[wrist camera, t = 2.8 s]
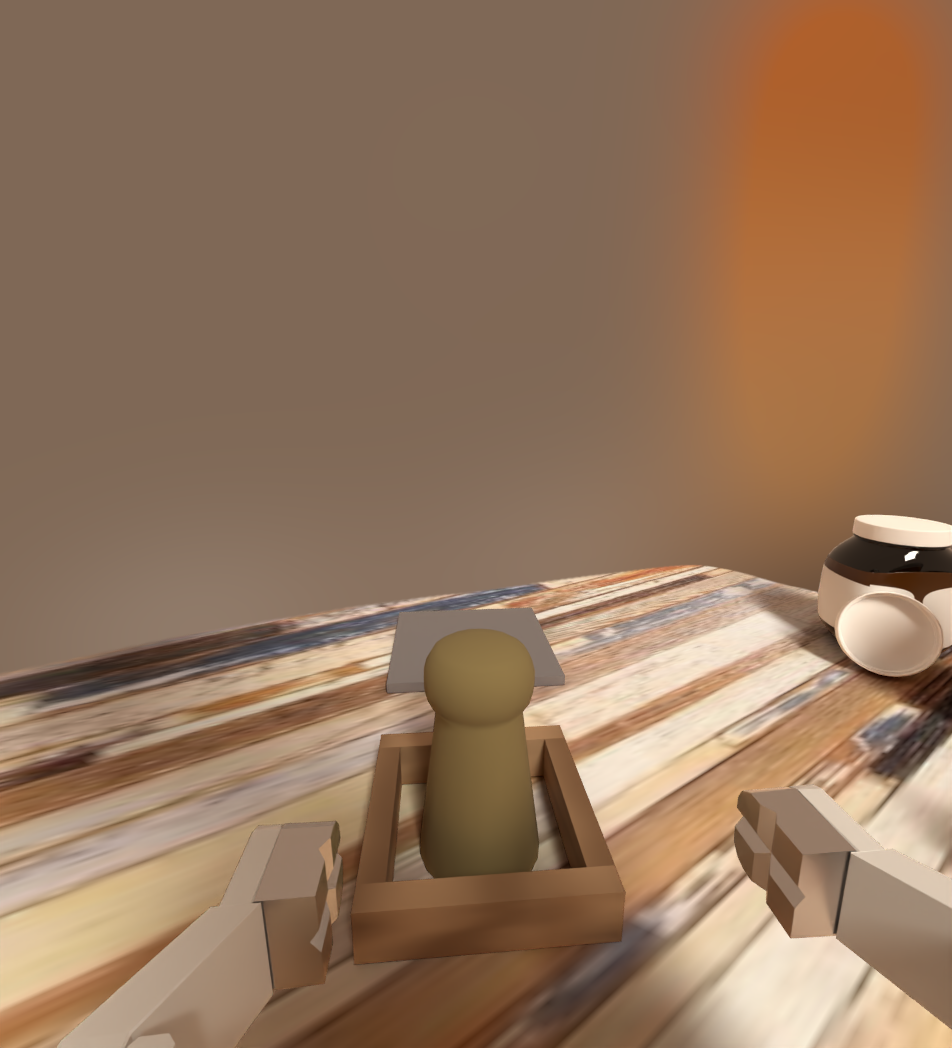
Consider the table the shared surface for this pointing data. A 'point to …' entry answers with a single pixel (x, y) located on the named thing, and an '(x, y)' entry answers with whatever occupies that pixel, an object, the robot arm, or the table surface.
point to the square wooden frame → (484, 900)
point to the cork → (479, 757)
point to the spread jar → (890, 593)
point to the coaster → (431, 626)
